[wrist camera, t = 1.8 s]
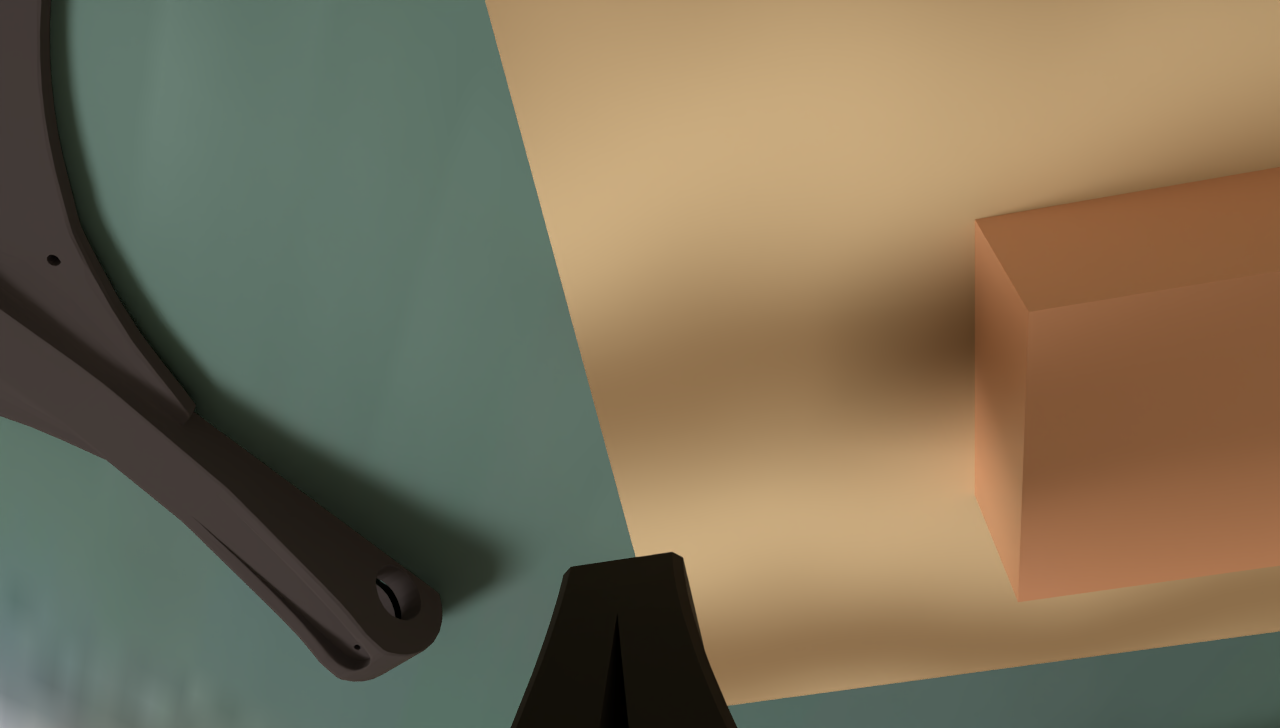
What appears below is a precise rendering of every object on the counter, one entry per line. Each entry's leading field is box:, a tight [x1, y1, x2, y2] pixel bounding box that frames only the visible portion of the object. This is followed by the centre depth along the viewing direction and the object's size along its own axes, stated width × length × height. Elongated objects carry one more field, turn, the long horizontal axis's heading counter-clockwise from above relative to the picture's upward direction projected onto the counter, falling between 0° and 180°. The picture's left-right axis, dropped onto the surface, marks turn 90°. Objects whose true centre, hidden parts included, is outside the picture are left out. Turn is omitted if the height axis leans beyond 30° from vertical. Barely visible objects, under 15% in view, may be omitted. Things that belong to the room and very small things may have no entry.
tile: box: [975, 167, 1280, 602], centre depth 14 cm, size 5×5×2 cm
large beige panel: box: [485, 0, 1280, 706], centre depth 16 cm, size 14×12×2 cm
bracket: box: [0, 0, 442, 681], centre depth 18 cm, size 14×15×3 cm
